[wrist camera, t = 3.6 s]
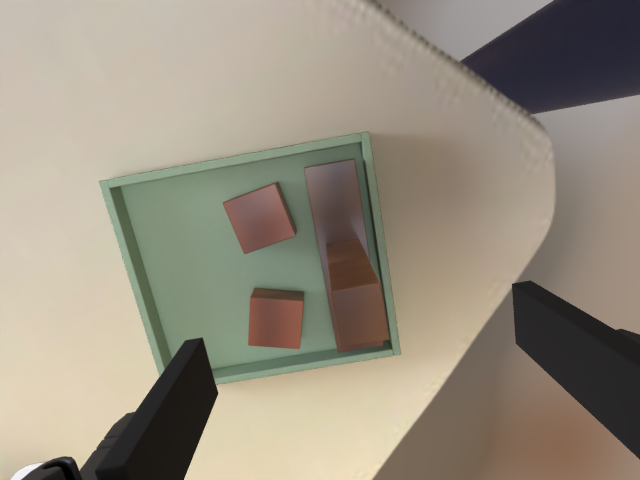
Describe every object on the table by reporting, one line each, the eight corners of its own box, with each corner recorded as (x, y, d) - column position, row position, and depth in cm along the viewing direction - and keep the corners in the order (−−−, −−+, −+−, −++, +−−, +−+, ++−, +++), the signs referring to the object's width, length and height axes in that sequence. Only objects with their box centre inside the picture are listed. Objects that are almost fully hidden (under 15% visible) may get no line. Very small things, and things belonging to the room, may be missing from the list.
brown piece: (351, 158, 27) (375, 161, 16) (378, 330, 30) (414, 434, 19) (304, 166, 27) (296, 175, 16) (336, 337, 30) (347, 444, 19)
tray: (365, 132, 27) (369, 131, 25) (395, 342, 31) (401, 354, 29) (113, 179, 28) (98, 181, 26) (173, 379, 32) (164, 393, 30)
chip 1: (278, 181, 27) (275, 183, 26) (297, 230, 28) (296, 236, 26) (228, 199, 28) (221, 203, 26) (249, 248, 29) (244, 254, 27)
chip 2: (304, 291, 29) (303, 301, 28) (300, 337, 30) (299, 349, 28) (254, 287, 29) (250, 297, 27) (252, 333, 30) (247, 345, 28)
